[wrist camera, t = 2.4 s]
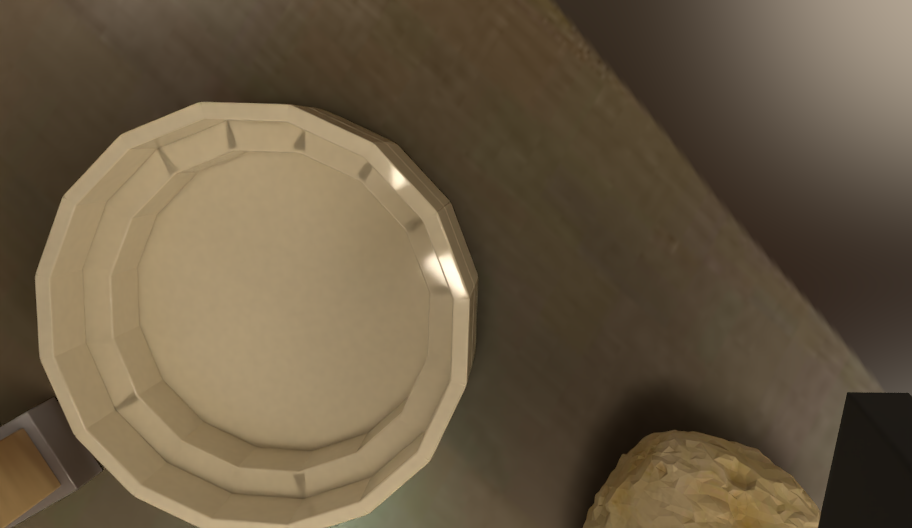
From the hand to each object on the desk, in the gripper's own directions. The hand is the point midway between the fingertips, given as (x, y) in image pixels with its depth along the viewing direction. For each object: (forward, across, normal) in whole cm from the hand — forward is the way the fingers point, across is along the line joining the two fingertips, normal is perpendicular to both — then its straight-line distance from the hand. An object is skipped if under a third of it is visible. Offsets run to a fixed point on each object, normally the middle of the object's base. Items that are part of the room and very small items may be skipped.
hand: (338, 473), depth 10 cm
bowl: (+22, -6, -8) cm, 24 cm away
